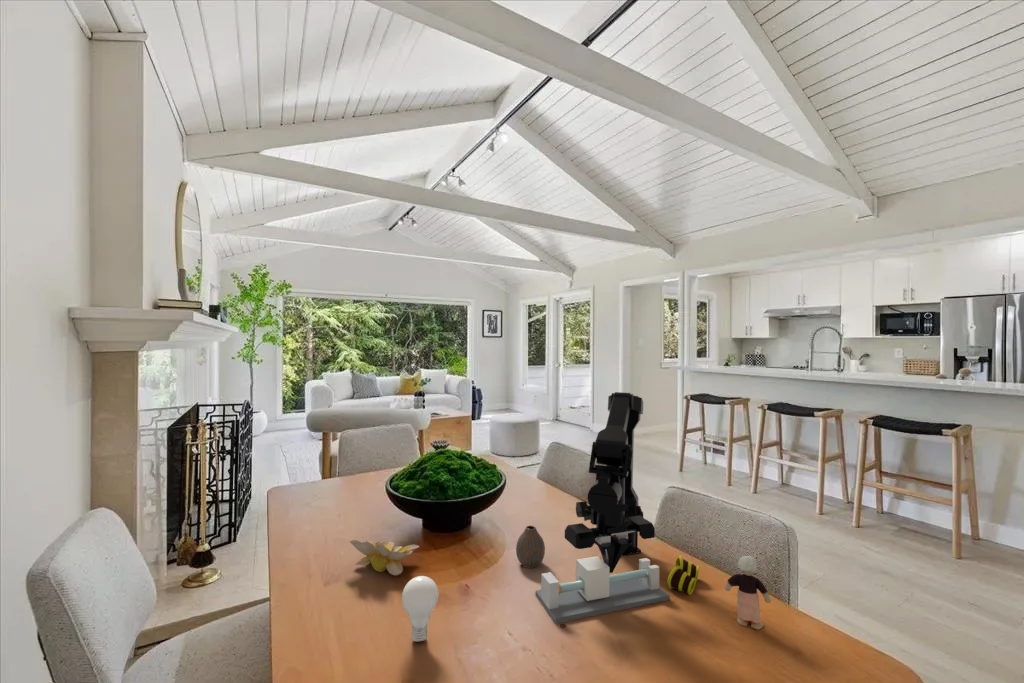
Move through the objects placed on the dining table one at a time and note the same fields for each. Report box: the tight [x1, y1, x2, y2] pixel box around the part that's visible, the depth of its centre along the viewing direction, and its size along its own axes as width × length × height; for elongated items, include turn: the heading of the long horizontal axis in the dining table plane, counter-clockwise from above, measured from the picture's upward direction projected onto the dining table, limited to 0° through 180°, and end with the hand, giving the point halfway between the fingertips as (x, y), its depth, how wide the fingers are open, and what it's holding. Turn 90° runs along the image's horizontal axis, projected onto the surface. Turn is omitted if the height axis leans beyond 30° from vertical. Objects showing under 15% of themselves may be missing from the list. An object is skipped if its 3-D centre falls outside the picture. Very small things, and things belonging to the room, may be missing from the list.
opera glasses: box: [667, 555, 700, 596], centre depth 100 cm, size 10×5×5 cm, turn 150°
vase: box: [515, 525, 546, 569], centre depth 109 cm, size 7×7×9 cm
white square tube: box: [575, 555, 610, 601], centre depth 94 cm, size 5×5×6 cm
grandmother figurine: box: [724, 555, 772, 630], centre depth 87 cm, size 8×4×13 cm, turn 71°
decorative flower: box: [349, 539, 420, 576], centre depth 106 cm, size 15×11×10 cm
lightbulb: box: [401, 575, 439, 643], centre depth 80 cm, size 6×6×11 cm
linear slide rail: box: [535, 557, 671, 624], centre depth 95 cm, size 26×10×6 cm, turn 109°
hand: (609, 572), depth 95 cm, fingers closed
